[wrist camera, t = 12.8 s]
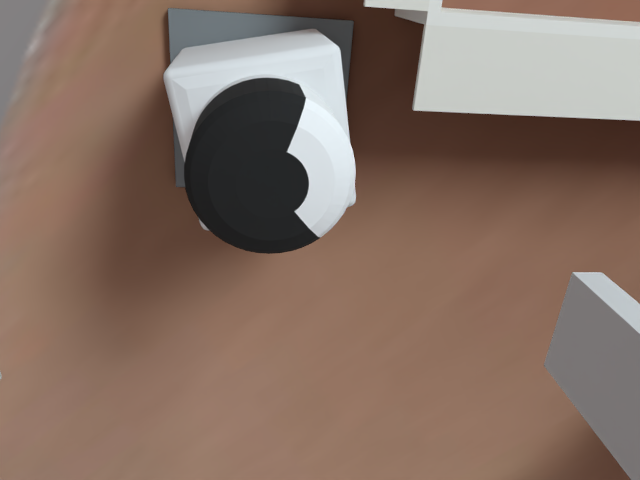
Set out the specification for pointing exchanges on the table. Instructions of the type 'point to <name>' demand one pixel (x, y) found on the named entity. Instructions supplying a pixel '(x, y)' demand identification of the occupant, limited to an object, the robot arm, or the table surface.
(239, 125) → the container
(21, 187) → the table surface
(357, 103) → the table surface
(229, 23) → the mat
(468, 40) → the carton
